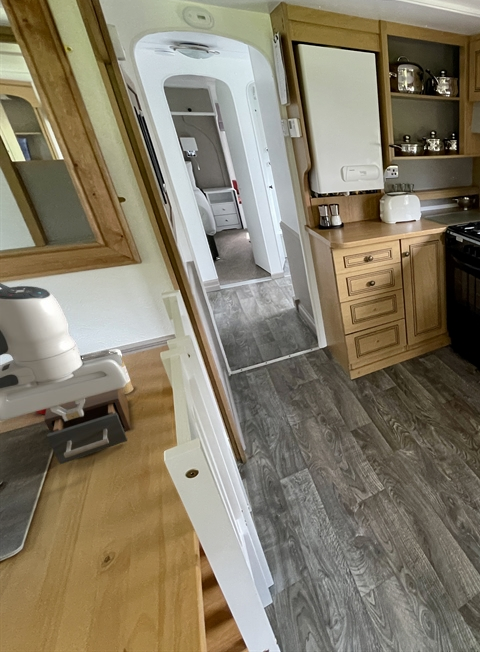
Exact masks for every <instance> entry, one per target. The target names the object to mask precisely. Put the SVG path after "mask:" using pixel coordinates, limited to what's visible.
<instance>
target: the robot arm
mask: <svg viewBox="0 0 480 652" xmlns="http://www.w3.org/2000/svg"><path fill="white" fill-rule="evenodd" d="M69 326H70V325H69V322H68V319H67V317H66V315H65V313H64V310H63V309H62V307H61V304H60V303H59V302H58V299H56V297H55V296H54V295H53V294H52V292H50V291H48V290H47V289H45V288H41V287H39V286H38V287H37V286H31V285H18V286H7V285H5V284H4V283H2V282H0V356H2V355H3V356H4V355H10V357H12V360H10V361H7V362H4V363H2V364H0V422H3V421H8V420H10V419H14V418H18V417H22V416H26V415H28V414H32V413H37V412H36V411H40V410H43V409H47V408H50V409H51V411H52V412H54V413H56V414H58V415H61V416H62V417H63V419H64V421H68V420H71V419H75V418H78V417H82V416H83V415H84V413H83V410H82V408H83V405H84V403H85V398H87V397H91V396H94V395H98V394H101V393H105V392H109V391H112V390H116V389H120V388H123V387H124V386H125V385H126V384H127V377H126V374H125V372H124V370H123V368H122V366H121V365H122V362H124V360H123V361H122V359H123V357H122V358H121V355H120V354H119V353H118V352H115V351H109V350H110V349H108V350H107V349H106V350H102V351H99V352H94V353H89V354H84V355H81V353H80V351H79V350H80V349H79V347H78V345H77V343H76V341H75V339H74V338H73V337H72V336H71V334H70V332H69V328H70V327H69ZM110 353H113V354H110ZM72 401H75V403H76V404H78V406H77V407H76V408H73V409H70V410H66V409H64V408H62V407H61V404H65V403H69V402H72Z"/></svg>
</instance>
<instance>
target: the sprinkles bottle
mask: <svg viewBox="0 0 480 652" xmlns="http://www.w3.org/2000/svg"><path fill="white" fill-rule="evenodd" d="M108 350H109V351H115V352H118V353H119V354H120V355H121V358H122V361H123V362H122V365H121V366H122V368H123V370H124V372H125V374H126V377H127V384H126V385H125V386H124V387H123V391H124V393H125V395H128V394H130V393H131V392H133V391H134V386H133V385H132V382H131V378H130V376H129V375H130V374H129V372H128V370H127V367H126V364H125V362H124V359H123V354H122V352H121V350H120V349H118V348H115V349H113V348H112V349H108ZM110 354H113V353H110Z"/></svg>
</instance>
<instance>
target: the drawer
mask: <svg viewBox="0 0 480 652" xmlns="http://www.w3.org/2000/svg"><path fill="white" fill-rule="evenodd" d="M83 413H84V415H83V416H82V417H78V418H75V419H71V420H68V421H64V419H63V418H60V419H57V420H55V424H54V429H53V430H54V432H52V433H50V432H49V433H47V434H46V439H47V441H48V442H49V445H50V447H51V449H52V451H53V453H54V454H55V457H56V460H57V461H58V463H59V465H62V464H65V463H69V462H71V461H74V460H77V459H79V458H82V457H85V456H89V455H91V454H94V453H97V452H99V451H102V450H106V449H107V448H110V447H111V448H112V447H114V446H117V445H119V444H122V443H125V442H128V437H127V435H126V431H124V429H123V427H122V424H121V417H120V415H119V412H118V410H117V407H116V405H115V402H114V403H111V404H107V405H104V406H101V407H97V408H94V409H91V410H87V411H84V412H83Z"/></svg>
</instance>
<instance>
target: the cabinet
mask: <svg viewBox="0 0 480 652" xmlns="http://www.w3.org/2000/svg"><path fill="white" fill-rule="evenodd" d="M114 402H115V405H116V407H117V410H118V412H119V415H120V417H121V424H122V427H123V429H124V432H127V431H130V430H131V420H130V410H129V401H128V398H127V396H126V394H125V393H124V391H123V388H120V389H116V390H112V391H109V392H105V393H101V394H98V395H94V396H91V397H87V398H85V403H84V405H83V408H82V410H83V412H84V411H87V410H91V409H94V408H97V407H101V406H104V405H107V404H111V403H114ZM77 406H78V404H76V403H75V401H72V402H69V403H65V404H61V407H62V408H64V409H66V410H70V409H73V408H76V407H77ZM60 418H63V417H62V416H61V415H58V414H56V413H54V412H52V411H51V409H50V408H47V409H46V414H44V419H43V421H44V422H45V425H46V427H47V429H48V431H49V433H52V432H54V430H53V429H54V424H55V420H57V419H60Z"/></svg>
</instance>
